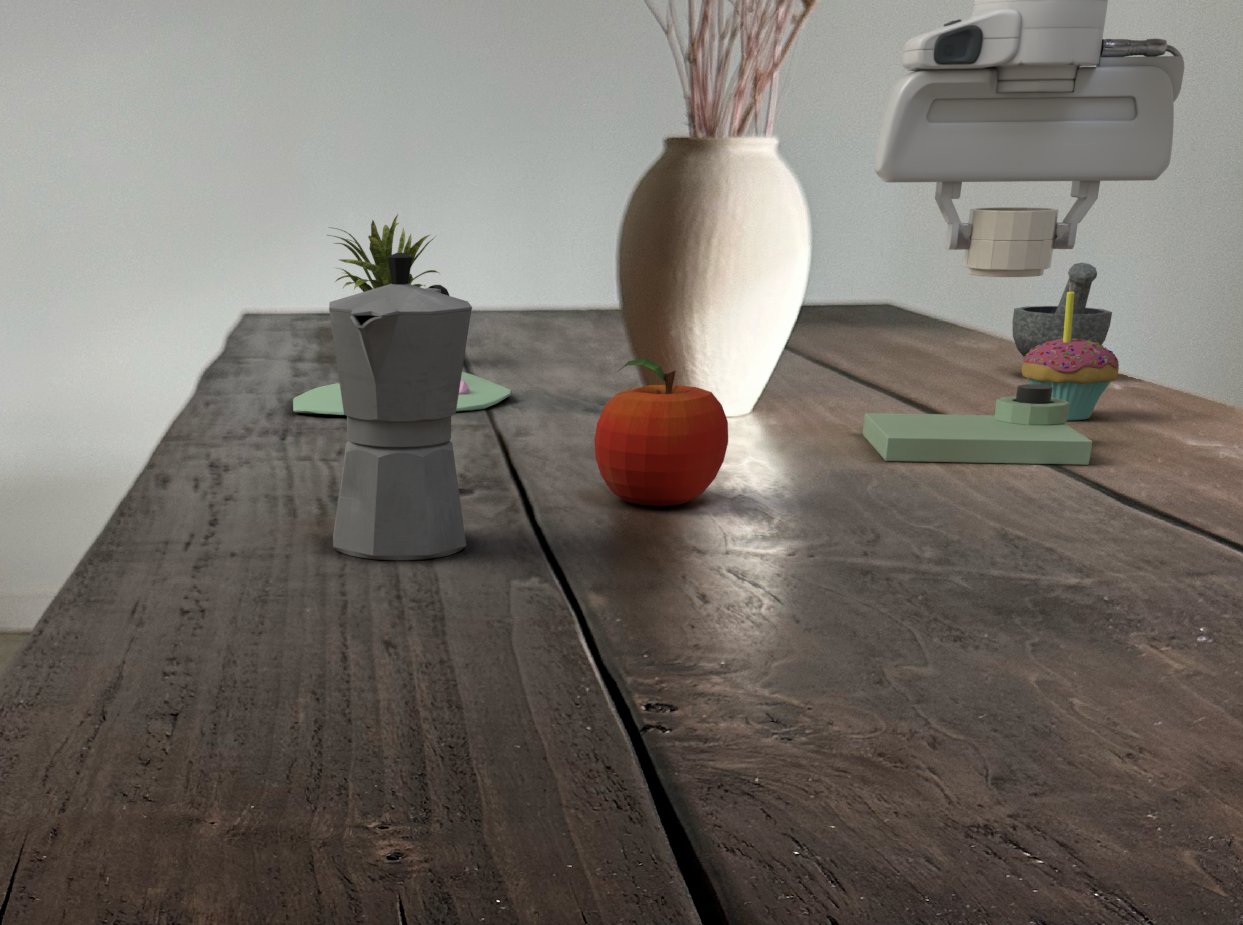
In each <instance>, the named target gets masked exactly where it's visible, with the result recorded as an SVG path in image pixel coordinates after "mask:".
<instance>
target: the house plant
mask: <svg viewBox="0 0 1243 925" xmlns="http://www.w3.org/2000/svg"><path fill="white" fill-rule="evenodd" d="M398 216H399V214H397V215H396V216H395V217H394V218H393V220H392V223H391V226H390V227H389V225H387V224H385V225H383V228H382V233H381V234H382V236H380V234H379V231H378V228H377V225H376V223H375V220H373V219H371V220H372V221H371V223H370V235H368V237H367V238H368V240H369V249H368V250H369V251H370V254H371V256H372V259H373V261H374V263H372V262H371V261H370V259H369V258H368V256H367V254H366V253H365V252H366V251H364V249H363V247H362V246H361V244H360V243H359V242H358V240H357V239H356V238H355V236H353V235H352V234H351V233H350V232H347V231H346V230H343V229H341V228H337V227H333V229H334V230H338V231H341V232H344V233H345V234H347V235H348V236H350V237H351V238H352V239H347V238H344V237H341V236H336V235H331V234H327V236H328V237H333V238H338V239H341V240H342V241H344V242H345V243H344V242H343V243H342V242H334V245H335V244H336V245H342V246H344V247H345V248H347V249H348V250H349V251H350V252H351V253H352V254H353V255H354V257H355V258H356V259H351V258H350V259H349V258H348V259H347V258H346V259H343V258H341V259H339V261H340V262H343V263H346V264H352V265H355V266H358V267H360V268H362V270H363V271H364V273H365V275H366V277H367V278H368V279H366V278H365V279H364V278H361V277H360V276H358V275H354V274H351V273H350V272H349V271H347V270H346V269H343V268H340V267H337V269H338V270H341V271H343V273H344V274H346V275H342V276H340V277H337V279H336V280H335V281H334V283H335V282H338V281H339V280H342V279H344V278H350V279H351V280H352V281H347V282H345V284H344V285H343V287H342V289H345V287H347V286H350V285H353V284H354V287H353V291H355V290H356V288H359V289H360V290H361V291H362V292H365V291H369V290H372V289H375V288H379V287H382V286H386V285H389V284H392V283H391V277H390V271H389V265H388V259H387V256H390V255H392V254H393V243H394V237H395V236H394V234H395V231H396V230H395V229H396V227H397V226H398V225H399V224H400V222H397V219H398ZM327 228H328V229H332V227H330V226H329V227H328V226H327ZM430 236H431V234H428V235H425V236H423V237H421V238H420V239H419V240H418V241H417V242H415V243H414V244H413V245H412V238H413V237H412V233H410V234H409V236H408V239H407V242H406V231H405V228H404V227H402V230H401V234H400V237H399V242H398V247H397V251H396V253H405V254H407V255H410V256H412V257H413V258H412V264H411V267H413V264H414V263H415V262H416V260H417V259H418V258H419V257H420V255H421V254H422V253H423V252H424V250H425V249H426V247H427V246H428V245H429V244H430V243H431V242H433V240H434V239H435V238H436V236H434V237H433V238H432V239H430V240H429V241H428V242H426V244H425V245H424V246H423V248H422V249H421V250H420V251H419V249H420V248H421V246H422V244H423V243H424V241H425V240H426V239H427V238H428V237H430ZM352 242H353V243H352ZM354 243H355V244H356V245H355V244H354ZM418 251H419V252H418ZM332 268H334V269H335V267H332ZM369 271H370V272H371V274H372V276H373V277H374V279H373V278H372V276H371V274H370V272H369ZM428 273H439V275H441V276H442V274H441V273H440V272H439V271H437V270H436V269H435V270H434V269H430V270H426V271H424V272H422V273H420V274H418V275H416V276H415V277H414V276H413V274H412V273H410V275H409V281H408V284H411V285H412V283H413V281H414V280H416V279H418V278H419V277H421V276H422V275H425V274H428ZM367 282H370V284H371V285H370V284H368V283H367ZM413 285H414V286H417V287H421V288H422V286H423V287H424V289H425V288H427V287H426V284H421V283H414V284H413Z"/></svg>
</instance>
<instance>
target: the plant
mask: <svg viewBox="0 0 1243 925" xmlns="http://www.w3.org/2000/svg"><path fill="white" fill-rule="evenodd" d="M512 394H513V390H512V389H510V388H508V387H506V386H503V385H501V384H499V383H497V382H494V381H491V380H488V379H485V378H483V377H480V376H479V375H474V374H471V373H469V372H465V371H462V375H461V382H460V388H459V395H458V402H457V408H456V413H457V412H467V411H470V412H471V411H476V410H485V409H487V408H489V407H491V406H494V405H497V404H498V403H500V402H502V401H503V400H505V399H506V398H508V397H510V396H511V395H512ZM292 411H293V412H294V413H297V414H313V415H314V414H316V415H331V416H332V415H334V416H345V415H344V411H343V404H342V397H341V390H340V383H339V382H337V383H332V384H331V383H330V384H327V385H323V386H318V387H315V388H312V389H309V390H307V391H305V392H303V393H301V394H299V395H297V396H295V397H293V399H292Z"/></svg>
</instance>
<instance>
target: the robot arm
mask: <svg viewBox="0 0 1243 925" xmlns="http://www.w3.org/2000/svg"><path fill="white" fill-rule="evenodd" d="M1108 2H1109V0H973V10H972V13H970V17H969V18H965V19H961V18H959V19H955V20H951V21H949V22H946V23H944V24H943V26H941V27H938V28H935V29H933V30H929V31H926V32H924V33H920V34H918V35H915V36H913V37H911V38H909V39H908V40H907V41H906V42H904V45H903V47H902V53H901V64H902V67H903V68H904V69H905V70H906V71H909V72H908V73H906V74H904V75H902V76H901V77H899V78H898V79H897V80H896V81H895V83H893V85H892V87H891V88H890V90H889V92H888V95H887V96H886V100H885V103H884V106H883V111H882V113H881V114H882V115H881V117H880V123H879V126H878V131H877V132H878V133H877V138H876V143H875V151H874V156H873V169H874V172H875V173H876V176H878V178H879V179H880V180H881V181H882V182H884V183H936V184H935V192H934V193H935V194H934V200H935V203H936V204H937V206H938V209H939V211H940V213H941V215H942V217H943V220H944V222H945V223H946V233H945V241H944V243H945V244H944V248H945V250H948V251H951V250H953V251H956V250H957V251H958V250H959V251H961V250H965V249H969V247H970V242H971V240H970V238H969V236H970V235H971V234H972V226H973V224H969V223H968V222H962V221H961V219H960V216H959V214H958V212H957V209H956V207H955V204H954V202H953V200H959V199H960V198H961V193H962V187H963V186H962V185H963V183H992V182H993V183H994V182H996V183H997V182H998V183H999V182H1000V183H1001V182H1002V183H1003V182H1004V183H1005V182H1008V183H1009V182H1010V183H1011V182H1013V183H1014V182H1071V187H1070V188H1071V189H1070V197H1071V198H1077V199H1076V200H1075V202H1074V203H1073V205H1072V206H1071V207H1070V209H1069V211H1068V212H1067V214H1066V215H1065V217H1064V218H1063V220H1062V221H1059V222H1058V221H1057V224H1056V231H1055V238H1054V246H1053V250H1073V249H1074V247H1075V244H1076V239H1077V232H1078V224H1080V223H1081V222H1082V220H1083V219H1084V218H1085V216H1086V215H1087V214H1088V212H1089V211H1090V210H1091V208H1092V207H1093V206H1094V204H1095V203H1096V201H1097V200H1098V198H1099V191H1100V185H1101V182H1116V181H1117V182H1118V181H1120V182H1122V181H1123V182H1125V181H1126V182H1127V181H1128V182H1129V181H1132V182H1133V181H1137V182H1138V181H1156V180H1158V179H1159V178H1160V176H1162V175H1163V173H1164V172H1165V171H1167V169H1168V168H1169V166H1170V164H1171V159H1172V150H1173V141H1174V140H1173V138H1174V120H1175V112H1174V111H1175V110H1174V109H1175V108H1174V107H1175V106H1174V105H1175V104H1174V103H1175V102H1176V100H1177V99H1178V97H1179V96H1180V93H1181V89H1182V84H1183V79H1184V75H1185V74H1184V73H1185V60H1184V57H1183V55H1182V53H1181V52H1180V50H1179V49H1178V48H1176V47H1175V46H1173V45H1170V44H1168V40H1166V39H1162V38H1147V39H1140V40H1139V39H1136V40H1135V39H1129V38H1128V39H1127V38H1106V39H1105V38H1104V30H1105V24H1106V18H1107V11H1108V4H1109V3H1108ZM1166 52H1167V53H1170V54H1171V55H1165V54H1166ZM1164 55H1165V56H1164Z"/></svg>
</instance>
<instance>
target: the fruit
mask: <svg viewBox="0 0 1243 925" xmlns="http://www.w3.org/2000/svg"><path fill="white" fill-rule="evenodd" d="M627 366H643V367H646V368H648V369H650V370H652V371H653V372H654V373H655V374H656V375H657V376H658V377H659V378H660V379H662V380H663V381H664V384H649V385H644V386H639V387H634V388H630V389H626V390H622V391H620V392H618V393H616V394H614V395H613V396H612V397H611V398H610V400H608V401H607V402H606V403H605V405H604V406H603V409H602V411H601V413H600V415H599V418H598V420H597V422H596V426H595V427H596V428H595V432H594V433H595V434H594V438H593V439H594V440H593V442H594V457H595V461H596V465H597V467H598V468H597V469H598V471H599V474H600V476H601V478H602V479H603V481H604V482H605V484H606V486H607V487H608V489H609V490H610V491H611V493H613V494H614V495H616V496H617V497H619V498H620V499H622V500H623V501H624V502H627V503H630V504H633V505H641V506H651V507H652V506H653V507H654V506H655V507H656V506H657V507H663V506H678V505H683V504H686V503H688V502H690V501H691V500H694V499H695V498H697V497H698V496H701V495H702V494H704V493H705V491H706V490H707V489H708V487H709V486H710V485H711V484H713V482H714V481H715V479H716V478H717V475H718V474H719V472H720V469H721V468H722V465H723V464H724V461H725V458H726V453H727V449H728V446H729V422H728V418H727V416H726V413H725V410H724V407H723V404H722V403H721V402H720V400H718V398H717V397H716V395H715V394H714V393H713V392H712V391H709V390H706V389H704V388H701V387H697V386H691V385H690V386H689V385H675V384H674V381H675V377H676V372H677V370H676V369H675V370H672V371H669V372H665V373H664V371H663V369H662V367H661V365H659V364H657V363H655V362H654V361H651V360H650V359H648V358H641V359H633V360H628V361H627V362H626V363H625V364H624V365H623V366H622V367H621V368H619V369H618V370H616V372H617V373H618V372H619V371H621V370H622V369H624V368H625V367H627Z"/></svg>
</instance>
